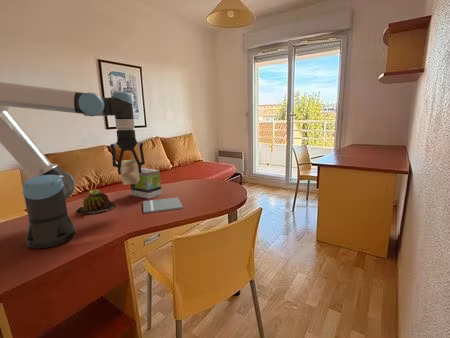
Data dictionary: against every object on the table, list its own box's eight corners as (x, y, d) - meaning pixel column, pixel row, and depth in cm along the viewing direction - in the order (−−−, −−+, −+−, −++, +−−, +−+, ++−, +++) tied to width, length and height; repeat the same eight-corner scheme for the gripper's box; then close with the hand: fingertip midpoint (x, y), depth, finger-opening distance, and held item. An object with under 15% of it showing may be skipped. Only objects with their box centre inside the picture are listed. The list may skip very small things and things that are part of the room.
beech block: (123, 184, 107) (121, 162, 105) (124, 181, 112) (122, 160, 110) (137, 183, 109) (135, 161, 107) (138, 180, 114) (136, 159, 112)
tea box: (162, 194, 139) (160, 169, 137) (148, 199, 131) (146, 172, 128) (144, 191, 147) (142, 167, 145) (130, 195, 139) (128, 170, 136)
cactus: (68, 215, 111) (65, 194, 110) (90, 203, 127) (87, 185, 125) (103, 215, 110) (101, 195, 108) (121, 203, 125) (119, 185, 124)
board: (143, 213, 111) (143, 211, 111) (143, 202, 126) (143, 201, 125) (182, 208, 117) (182, 206, 116) (178, 198, 131) (177, 197, 131)
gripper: (100, 130, 99) (106, 184, 104) (148, 128, 105) (152, 180, 110) (102, 129, 106) (109, 180, 111) (148, 128, 112) (152, 177, 117)
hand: (130, 180), depth 110 cm, fingers closed on beech block, 6 cm apart
